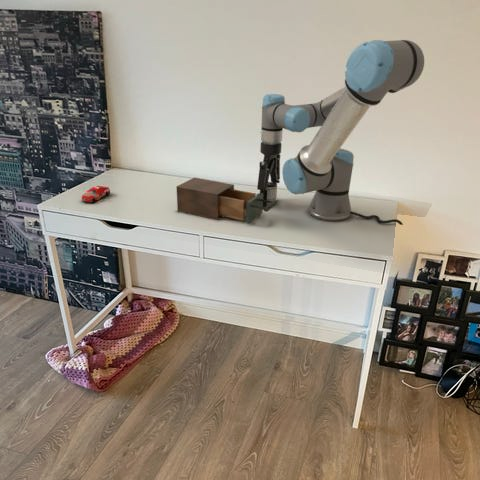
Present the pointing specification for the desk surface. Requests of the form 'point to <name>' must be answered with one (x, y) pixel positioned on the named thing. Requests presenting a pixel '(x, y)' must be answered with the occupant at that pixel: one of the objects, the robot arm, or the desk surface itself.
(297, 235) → the desk surface
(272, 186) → the camera lens
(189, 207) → the cabinet
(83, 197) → the race car
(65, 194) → the desk surface
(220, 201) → the drawer
